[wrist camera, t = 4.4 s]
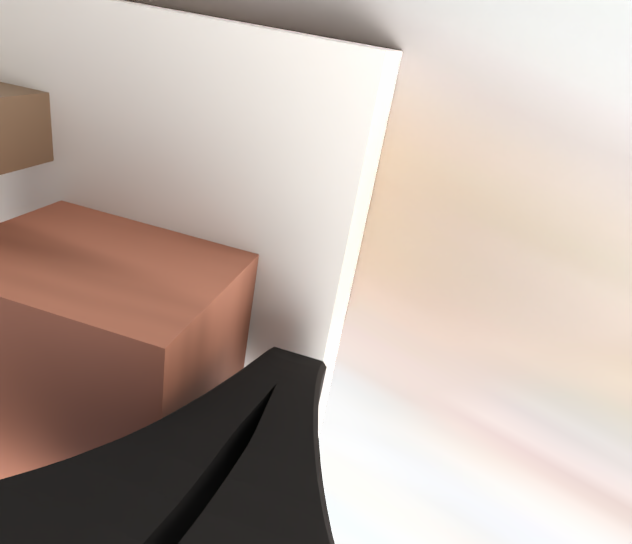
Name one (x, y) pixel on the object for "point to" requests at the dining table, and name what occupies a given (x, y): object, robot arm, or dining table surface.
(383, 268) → the dining table surface
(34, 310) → the block
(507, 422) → the dining table surface
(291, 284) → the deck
